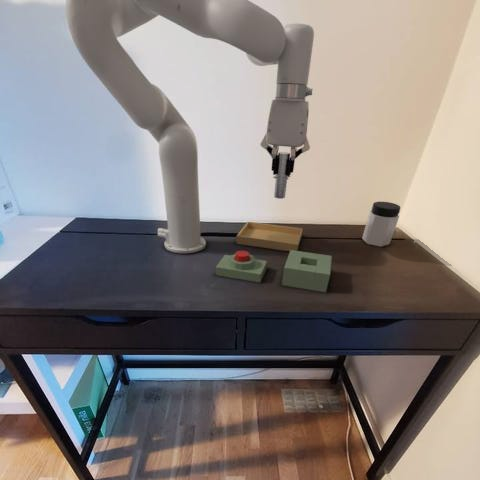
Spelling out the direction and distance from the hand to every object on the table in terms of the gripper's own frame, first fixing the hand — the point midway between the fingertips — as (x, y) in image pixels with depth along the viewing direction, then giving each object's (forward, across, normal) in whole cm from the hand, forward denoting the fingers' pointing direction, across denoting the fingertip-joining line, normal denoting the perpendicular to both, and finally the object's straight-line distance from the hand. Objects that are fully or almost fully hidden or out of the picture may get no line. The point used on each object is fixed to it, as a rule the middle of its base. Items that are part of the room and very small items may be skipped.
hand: (282, 173), depth 87 cm
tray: (+21, +2, -3) cm, 21 cm away
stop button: (+17, +5, +22) cm, 28 cm away
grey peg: (+6, 0, 0) cm, 6 cm away
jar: (+21, -32, -15) cm, 41 cm away
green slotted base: (+21, -12, +19) cm, 31 cm away
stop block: (+21, +5, +22) cm, 30 cm away
